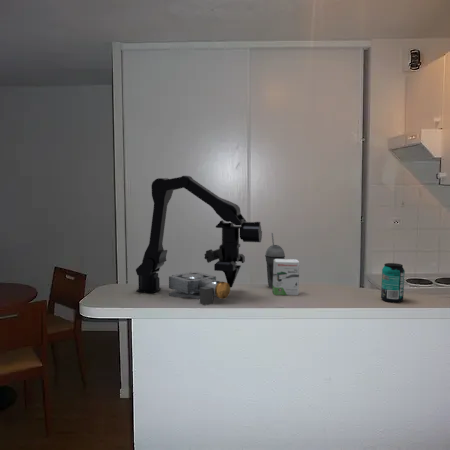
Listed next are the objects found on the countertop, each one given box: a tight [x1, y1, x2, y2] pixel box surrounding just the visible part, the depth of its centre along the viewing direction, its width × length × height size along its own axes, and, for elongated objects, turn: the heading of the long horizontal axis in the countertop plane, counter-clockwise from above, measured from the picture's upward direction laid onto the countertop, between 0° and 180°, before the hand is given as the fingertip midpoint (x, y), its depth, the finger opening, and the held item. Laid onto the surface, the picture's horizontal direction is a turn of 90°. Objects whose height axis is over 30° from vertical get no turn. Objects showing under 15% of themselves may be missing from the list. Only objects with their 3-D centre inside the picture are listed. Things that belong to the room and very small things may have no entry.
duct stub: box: [168, 274, 203, 300], centre depth 172 cm, size 12×12×6 cm
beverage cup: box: [264, 232, 286, 289], centre depth 182 cm, size 7×7×20 cm
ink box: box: [272, 258, 301, 296], centre depth 173 cm, size 9×5×12 cm, turn 93°
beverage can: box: [380, 262, 406, 304], centre depth 165 cm, size 7×7×12 cm
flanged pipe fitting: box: [168, 271, 231, 300], centre depth 168 cm, size 22×12×5 cm, turn 42°
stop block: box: [199, 286, 214, 306], centre depth 160 cm, size 3×3×5 cm
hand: (230, 287), depth 168 cm, fingers closed
